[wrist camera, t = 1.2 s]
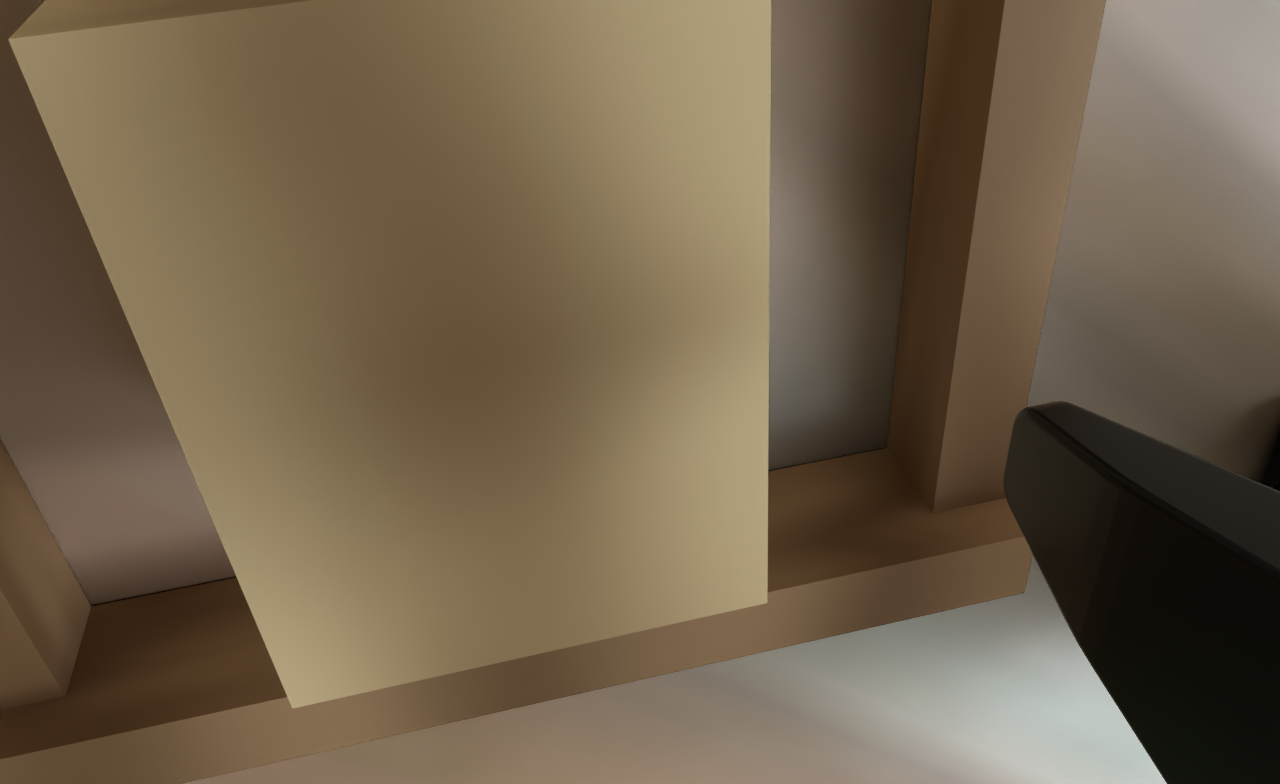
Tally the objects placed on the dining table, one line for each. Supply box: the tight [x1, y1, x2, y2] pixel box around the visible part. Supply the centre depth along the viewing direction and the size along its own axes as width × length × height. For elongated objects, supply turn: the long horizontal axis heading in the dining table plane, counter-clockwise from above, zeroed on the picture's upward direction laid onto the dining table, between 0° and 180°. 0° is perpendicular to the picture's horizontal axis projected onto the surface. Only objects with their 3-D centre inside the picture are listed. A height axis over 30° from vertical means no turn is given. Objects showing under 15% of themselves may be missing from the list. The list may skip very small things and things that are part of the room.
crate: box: [8, 0, 771, 709], centre depth 13 cm, size 6×8×6 cm
